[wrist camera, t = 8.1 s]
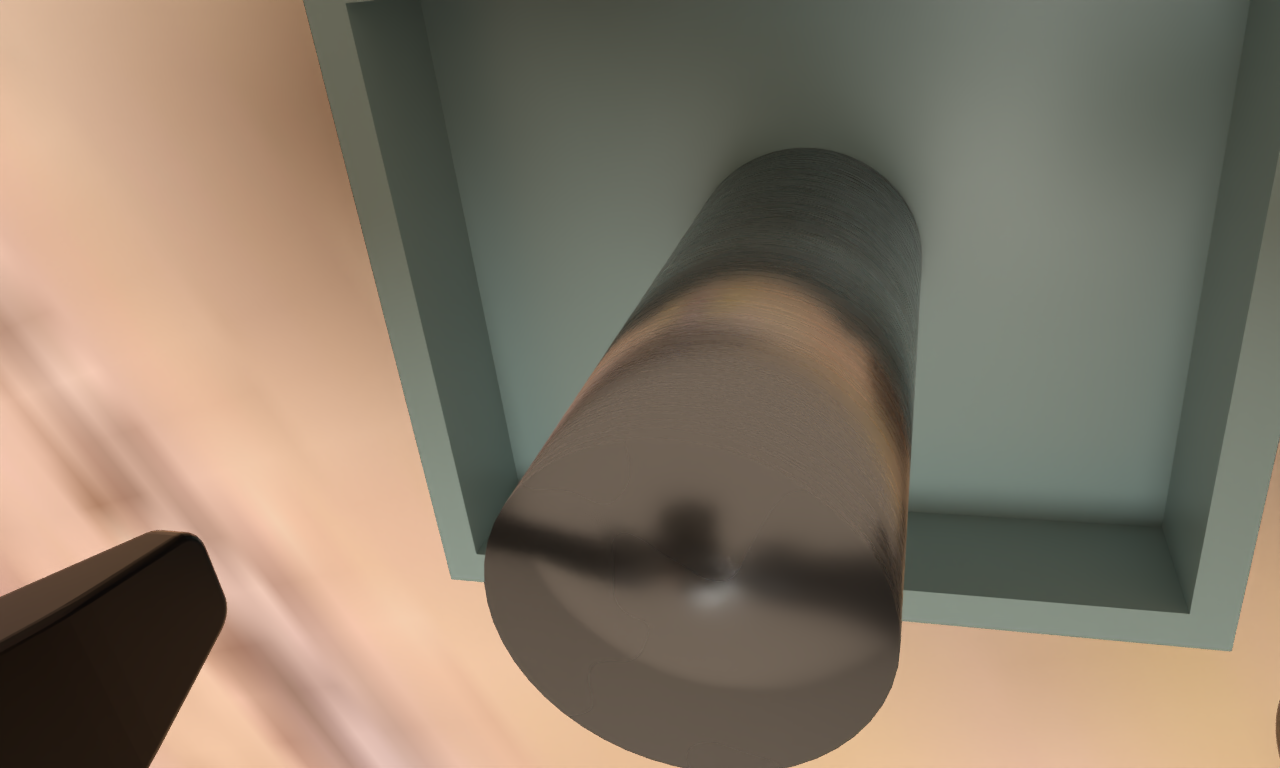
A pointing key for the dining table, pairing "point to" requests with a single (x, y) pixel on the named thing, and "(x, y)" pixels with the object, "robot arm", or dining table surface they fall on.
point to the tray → (951, 257)
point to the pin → (732, 484)
